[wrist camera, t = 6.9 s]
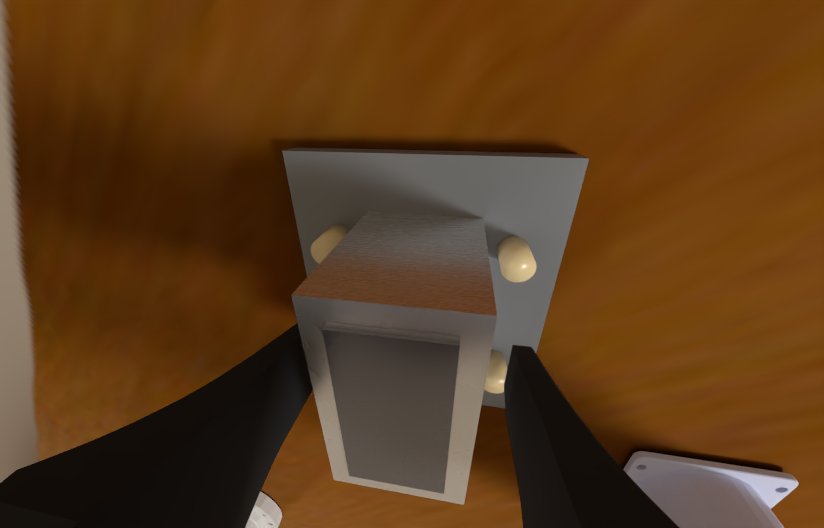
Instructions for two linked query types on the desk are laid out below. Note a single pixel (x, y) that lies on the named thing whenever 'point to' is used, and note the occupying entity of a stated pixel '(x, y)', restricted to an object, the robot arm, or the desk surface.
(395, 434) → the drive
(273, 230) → the desk surface
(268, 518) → the mechanical component
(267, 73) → the desk surface
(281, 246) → the desk surface
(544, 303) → the tray
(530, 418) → the robot arm
